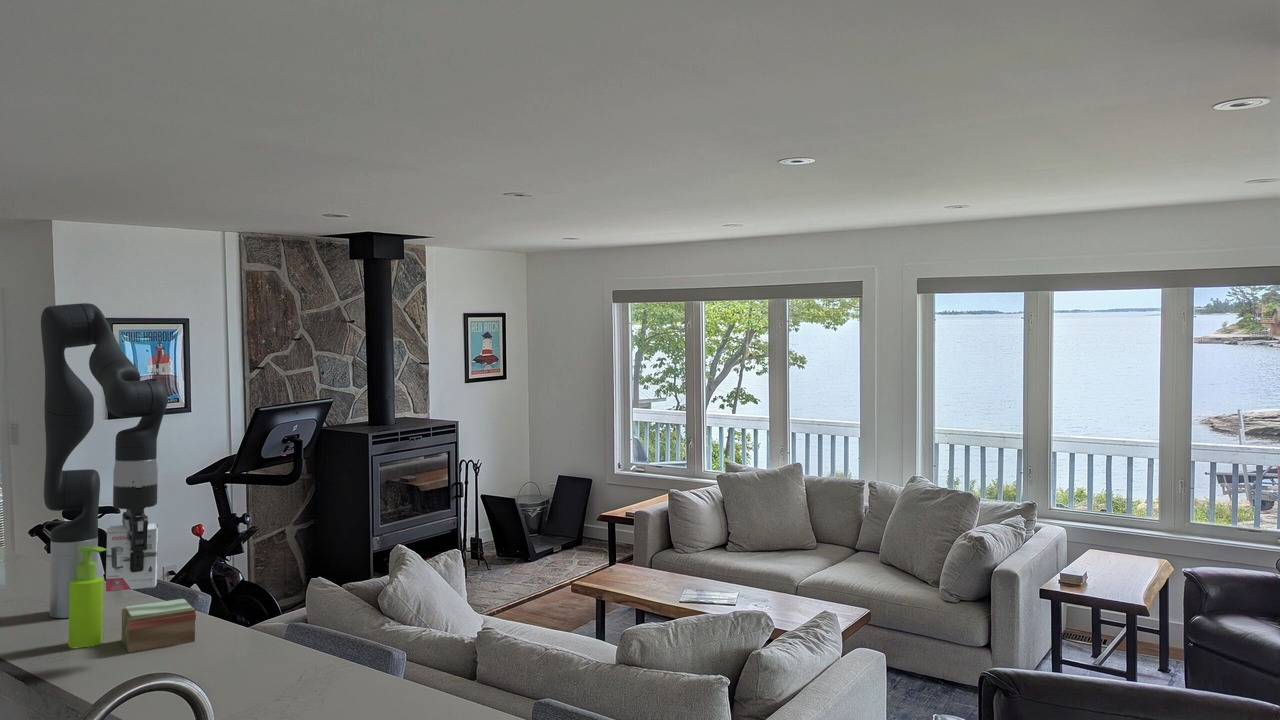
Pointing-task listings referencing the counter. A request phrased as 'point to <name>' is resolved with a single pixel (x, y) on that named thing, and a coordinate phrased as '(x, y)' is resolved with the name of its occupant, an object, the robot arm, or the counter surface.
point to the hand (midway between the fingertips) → (134, 568)
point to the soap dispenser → (86, 602)
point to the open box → (158, 624)
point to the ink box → (120, 560)
